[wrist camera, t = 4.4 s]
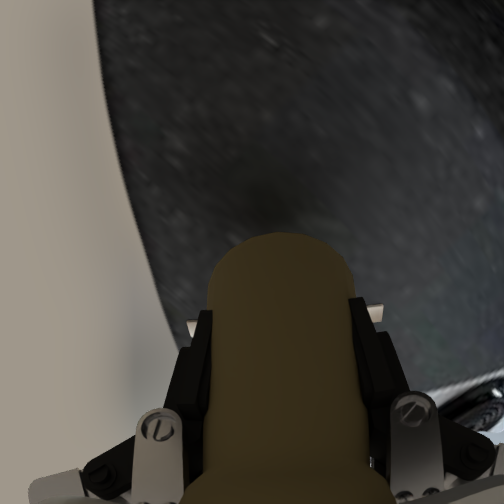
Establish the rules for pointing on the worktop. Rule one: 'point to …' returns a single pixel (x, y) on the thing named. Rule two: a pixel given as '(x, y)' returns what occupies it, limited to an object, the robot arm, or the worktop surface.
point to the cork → (284, 381)
